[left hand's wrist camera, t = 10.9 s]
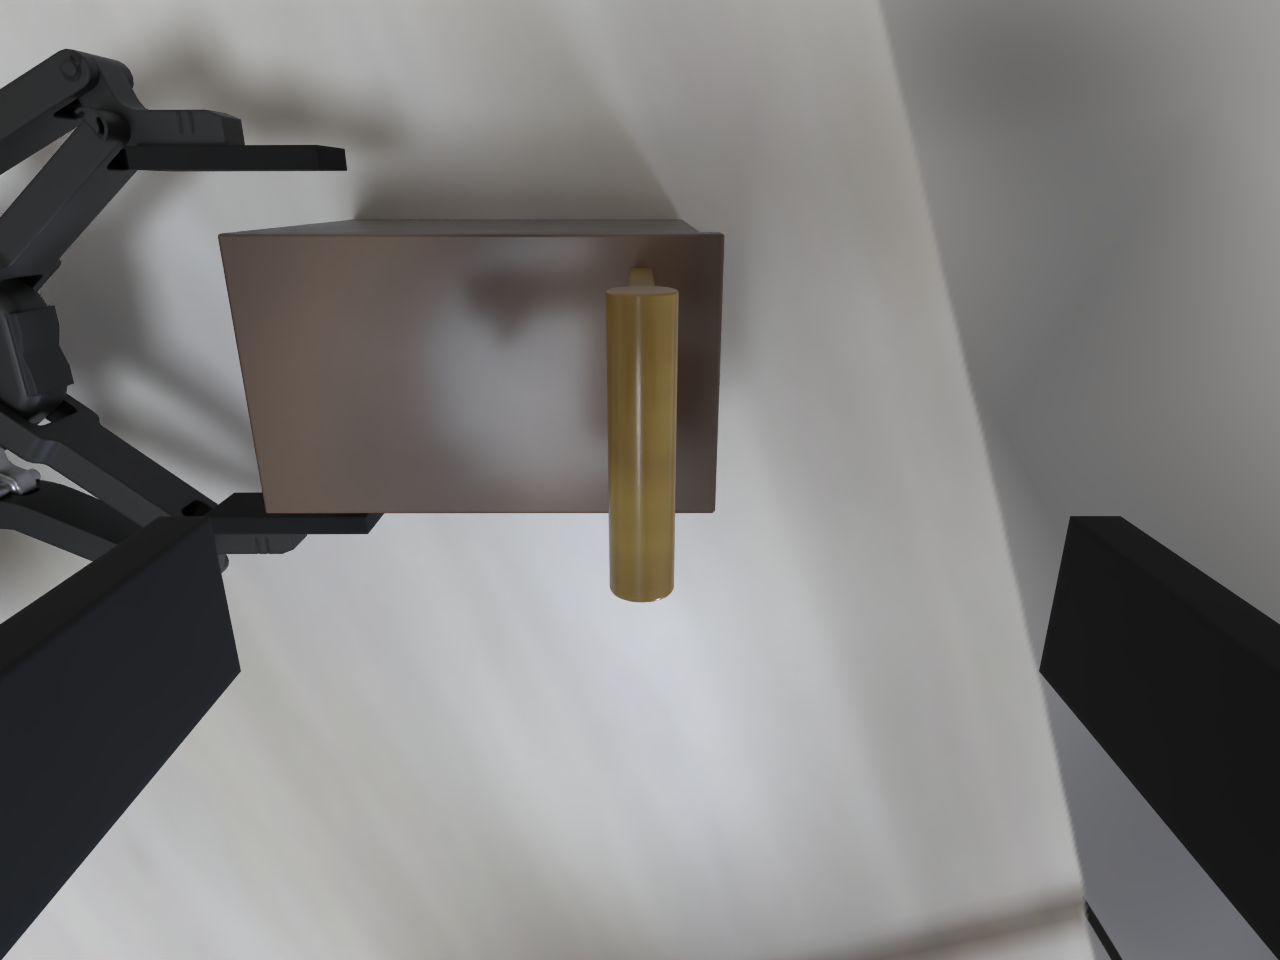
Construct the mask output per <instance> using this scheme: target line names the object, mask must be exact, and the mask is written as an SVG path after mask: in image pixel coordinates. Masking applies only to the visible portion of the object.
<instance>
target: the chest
mask: <svg viewBox="0 0 1280 960" xmlns="http://www.w3.org/2000/svg"><path fill="white" fill-rule="evenodd" d="M241 232H699V231H697V230H696V229H694V228H693V227H691V226H690V225H689V224H687V223H686V222H684V221H683V220H346V221H337V222H327V223H318V224H308V225H299V226H289V227H279V228H270V229H260V230H251V231H241Z"/></svg>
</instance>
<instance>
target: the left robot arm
mask: <svg viewBox="0 0 1280 960" xmlns="http://www.w3.org/2000/svg"><path fill="white" fill-rule="evenodd" d="M240 672H241V670H240V665H239V660H238V655H237V650H236V645H235V640H234V635H233V630H232V625H231V620H230V615H229V610H228V605H227V600H226V595H225V590H224V585H223V580H222V575H221V570H220V565H219V560H218V555H217V550H216V545H215V540H214V535H213V530H212V525H211V520H210V516H159V517H158V518H156V519H155V520H153V521H152V522H150V523H149V524H147V525H146V526H144V527H143V528H142V529H140V530H139V531H137V532H136V533H134V534H133V535H131V536H130V537H128V538H127V539H125V540H124V541H122V542H121V543H119V544H118V545H117V546H115V547H114V548H112V549H111V550H109V551H108V552H106V553H105V554H103V555H102V556H100V557H99V558H97V559H96V560H94V561H93V562H91V563H90V564H89V565H87V566H86V567H84V568H83V569H81V570H80V571H78V572H77V573H75V574H74V575H72V576H71V577H69V578H68V579H66V580H65V581H64V582H62V583H61V584H59V585H58V586H56V587H55V588H53V589H52V590H50V591H49V592H47V593H46V594H44V595H43V596H41V597H40V598H39V599H37V600H36V601H34V602H33V603H31V604H30V605H28V606H27V607H25V608H24V609H22V610H21V611H19V612H18V613H16V614H15V615H13V616H12V617H11V618H9V619H8V620H6V621H5V622H3V623H2V624H0V960H2V959H3V957H4V956H5V955H6V954H7V953H8V951H9V950H10V949H11V948H12V947H13V945H14V944H15V943H16V942H17V940H18V939H19V938H20V937H21V936H22V934H23V933H24V932H25V931H26V930H27V928H28V927H29V926H30V925H31V924H32V922H33V921H34V920H35V919H36V918H37V916H38V915H39V914H40V913H41V912H42V910H43V909H44V908H45V907H46V906H47V904H48V903H49V902H50V901H51V899H52V898H53V897H54V896H55V895H56V893H57V892H58V891H59V890H60V889H61V887H62V886H63V885H64V884H65V883H66V881H67V880H68V879H69V878H70V877H71V875H72V874H73V873H74V872H75V871H76V869H77V868H78V867H79V866H80V865H81V863H82V862H83V861H84V860H85V858H86V857H87V856H88V855H89V854H90V852H91V851H92V850H93V849H94V848H95V846H96V845H97V844H98V843H99V842H100V840H101V839H102V838H103V837H104V836H105V834H106V833H107V832H108V831H109V830H110V828H111V827H112V826H113V825H114V824H115V822H116V821H117V820H118V819H119V817H120V816H121V815H122V814H123V813H124V811H125V810H126V809H127V808H128V807H129V805H130V804H131V803H132V802H133V801H134V799H135V798H136V797H137V796H138V795H139V793H140V792H141V791H142V790H143V789H144V787H145V786H146V785H147V784H148V783H149V781H150V780H151V779H152V778H153V777H154V775H155V774H156V773H157V772H158V770H159V769H160V768H161V767H162V766H163V764H164V763H165V762H166V761H167V760H168V758H169V757H170V756H171V755H172V754H173V752H174V751H175V750H176V749H177V748H178V746H179V745H180V744H181V743H182V742H183V740H184V739H185V738H186V737H187V736H188V734H189V733H190V732H191V731H192V729H193V728H194V727H195V726H196V725H197V723H198V722H199V721H200V720H201V719H202V717H203V716H204V715H205V714H206V713H207V711H208V710H209V709H210V708H211V707H212V705H213V704H214V703H215V702H216V701H217V699H218V698H219V697H220V696H221V695H222V693H223V692H224V691H225V690H226V688H227V687H228V686H229V685H230V684H231V682H232V681H233V680H234V679H235V678H236V676H237V675H238V674H239V673H240ZM1039 672H1040V673H1041V674H1042V675H1043V676H1044V678H1045V679H1046V680H1047V681H1048V682H1049V684H1050V685H1051V686H1052V687H1053V688H1054V690H1055V691H1056V692H1057V693H1058V695H1059V696H1060V697H1061V698H1062V699H1063V701H1064V702H1065V703H1066V704H1067V705H1068V707H1069V708H1070V709H1071V710H1072V711H1073V713H1074V714H1075V715H1076V716H1077V717H1078V719H1079V720H1080V721H1081V722H1082V723H1083V725H1084V726H1085V727H1086V728H1087V729H1088V731H1089V732H1090V733H1091V734H1092V735H1093V737H1094V738H1095V739H1096V740H1097V742H1098V743H1099V744H1100V745H1101V746H1102V748H1103V749H1104V750H1105V751H1106V752H1107V754H1108V755H1109V756H1110V757H1111V758H1112V760H1113V761H1114V762H1115V763H1116V764H1117V766H1118V767H1119V768H1120V769H1121V770H1122V772H1123V773H1124V774H1125V775H1126V777H1127V778H1128V779H1129V780H1130V781H1131V782H1132V784H1133V785H1134V786H1135V787H1136V789H1137V790H1138V791H1139V792H1140V793H1141V795H1142V796H1143V797H1144V798H1145V799H1146V801H1147V802H1148V803H1149V804H1150V805H1151V807H1152V808H1153V809H1154V810H1155V811H1156V813H1157V814H1158V815H1159V816H1160V817H1161V819H1162V820H1163V821H1164V822H1165V824H1166V825H1167V826H1168V827H1169V828H1170V830H1171V831H1172V832H1173V833H1174V834H1175V836H1176V837H1177V838H1178V839H1179V840H1180V842H1181V843H1182V844H1183V845H1184V846H1185V848H1186V849H1187V850H1188V851H1189V852H1190V854H1191V855H1192V856H1193V857H1194V858H1195V860H1196V861H1197V862H1198V863H1199V865H1200V866H1201V867H1202V868H1203V869H1204V871H1205V872H1206V873H1207V874H1208V875H1209V877H1210V878H1211V879H1212V880H1213V881H1214V883H1215V884H1216V885H1217V886H1218V887H1219V889H1220V890H1221V891H1222V892H1223V893H1224V895H1225V896H1226V897H1227V898H1228V899H1229V901H1230V902H1231V903H1232V904H1233V905H1234V907H1235V908H1236V909H1237V910H1238V912H1239V913H1240V914H1241V915H1242V916H1243V918H1244V919H1245V920H1246V921H1247V922H1248V924H1249V925H1250V926H1251V927H1252V928H1253V930H1254V931H1255V932H1256V933H1257V934H1258V936H1259V937H1260V938H1261V939H1262V940H1263V942H1264V943H1265V944H1266V945H1267V947H1268V948H1269V949H1270V950H1271V951H1272V953H1273V954H1274V955H1275V956H1276V957H1277V959H1278V960H1280V624H1278V623H1277V622H1275V621H1274V620H1272V619H1271V618H1269V617H1268V616H1267V615H1265V614H1264V613H1262V612H1261V611H1259V610H1258V609H1256V608H1255V607H1253V606H1252V605H1250V604H1249V603H1247V602H1246V601H1244V600H1243V599H1241V598H1240V597H1239V596H1237V595H1236V594H1234V593H1233V592H1231V591H1230V590H1228V589H1227V588H1225V587H1224V586H1222V585H1221V584H1219V583H1218V582H1216V581H1215V580H1213V579H1212V578H1211V577H1209V576H1208V575H1206V574H1205V573H1203V572H1202V571H1200V570H1199V569H1197V568H1196V567H1194V566H1193V565H1191V564H1190V563H1188V562H1187V561H1186V560H1184V559H1183V558H1181V557H1180V556H1178V555H1177V554H1175V553H1174V552H1172V551H1171V550H1169V549H1168V548H1166V547H1165V546H1163V545H1162V544H1160V543H1159V542H1158V541H1156V540H1155V539H1153V538H1152V537H1150V536H1149V535H1147V534H1146V533H1144V532H1143V531H1141V530H1140V529H1138V528H1137V527H1135V526H1134V525H1133V524H1131V523H1130V522H1128V521H1127V520H1125V519H1124V518H1122V517H1121V516H1070V520H1069V525H1068V530H1067V535H1066V540H1065V545H1064V550H1063V555H1062V560H1061V565H1060V570H1059V575H1058V580H1057V585H1056V590H1055V595H1054V600H1053V605H1052V610H1051V615H1050V620H1049V625H1048V630H1047V635H1046V640H1045V645H1044V650H1043V655H1042V660H1041V665H1040V670H1039ZM1084 901H1085V902H1084V908H1085V917H1086V918H1087V920H1088V922H1089V923H1090V925H1091V926H1092V928H1093V930H1094V931H1095V933H1096V935H1097V937H1098V938H1099V940H1100V941H1101V943H1102V945H1103V947H1104V948H1105V950H1106V952H1107V953H1108V955H1109V957H1110V959H1111V960H1122V958H1121V956H1120V954H1119V953H1118V951H1117V949H1116V948H1115V946H1114V944H1113V943H1112V941H1111V940H1110V938H1109V936H1108V935H1107V933H1106V931H1105V930H1104V928H1103V927H1102V925H1101V923H1100V922H1099V920H1098V918H1097V917H1096V915H1095V914H1094V912H1093V910H1092V909H1091V907H1090V906H1089V904H1088V903H1087V901H1086V899H1085V898H1084Z"/></svg>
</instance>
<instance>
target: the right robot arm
mask: <svg viewBox="0 0 1280 960" xmlns="http://www.w3.org/2000/svg"><path fill="white" fill-rule="evenodd" d="M133 85H134V84H133V76H132V74H131V72H130V70H129V69H128V68H127V67H126V66H125V65H124V64H123V63H121V62H119V61H116V60H112V59H108V58H104V57H100V56H96V55H92V54H88V53H84V52H80V51H76V50H71V49H64V50H61V51H59V52H57V53H55V54H54V55H52V56H51V57H49V58H48V59H46V60H45V61H43V62H42V63H40V64H39V65H37V66H35V67H34V68H32V69H31V70H29V71H28V72H26V73H25V74H23V75H22V76H20V77H18V78H17V79H15V80H14V81H12V82H11V83H9V84H8V85H6V86H5V87H3V88H1V89H0V175H1V174H2V173H4V172H6V171H7V170H9V169H10V168H12V167H14V166H15V165H17V164H18V163H20V162H22V161H23V160H25V159H26V158H28V157H30V156H31V155H33V154H34V153H36V152H38V151H39V150H41V149H42V148H44V147H46V146H47V145H49V144H50V143H52V142H54V141H55V140H57V139H58V138H60V137H62V136H63V135H65V134H66V133H68V132H70V131H71V130H73V129H74V128H76V127H77V128H76V129H75V130H74V132H73V133H72V134H71V135H70V136H69V138H68V139H67V140H66V141H65V142H64V143H63V145H62V146H61V147H60V148H59V149H58V150H57V152H56V153H55V154H54V155H53V156H52V157H51V159H50V160H49V161H48V162H47V163H46V165H45V166H44V167H43V168H42V169H41V170H40V172H39V173H38V174H37V175H36V176H35V177H34V179H33V180H32V181H31V182H30V183H29V184H28V186H27V187H26V188H25V189H24V190H23V192H22V193H21V194H20V195H19V196H18V197H17V199H16V200H15V201H14V202H13V203H12V204H11V206H10V207H9V208H8V209H7V210H6V211H5V213H4V214H3V215H2V216H1V217H0V528H1V529H12V530H16V531H18V532H21V533H23V534H26V535H28V536H31V537H33V538H36V539H38V540H41V541H43V542H46V543H48V544H51V545H53V546H56V547H58V548H61V549H63V550H66V551H68V552H71V553H73V554H76V555H78V556H81V557H83V558H86V559H88V560H91V561H94V560H96V559H97V558H99V557H100V556H102V555H103V554H105V553H106V552H108V551H109V550H111V549H112V548H114V547H115V546H117V545H118V544H119V543H121V542H122V541H124V540H125V539H127V538H128V537H130V536H131V535H133V534H134V533H136V532H137V531H139V530H140V529H142V528H143V527H144V526H146V525H147V524H149V523H150V522H152V521H153V520H155V519H156V518H158V517H159V516H210V520H211V525H212V530H213V535H214V540H215V545H216V550H217V555H218V560H219V565H220V570H221V573H222V572H223V571H225V570H226V568H227V567H228V564H229V560H228V557H227V555H226V554H258V553H260V554H267V553H269V554H283V553H285V552H288V551H291V550H293V549H294V548H295V547H296V546H297V545H298V544H299V543H300V542H301V541H302V540H303V539H304V538H305V537H306V536H307V534H368V533H369V532H370V531H371V529H372V528H373V527H374V526H375V524H376V523H377V522H378V520H379V519H380V518H381V517H382V515H383V514H384V513H267V512H266V509H265V503H264V498H263V493H234V494H232V495H231V496H230V497H228V498H227V499H226V500H224V501H223V502H221V503H220V504H219V505H218V504H216V503H215V502H213V501H212V500H210V499H209V498H207V497H206V496H205V495H203V494H202V493H200V492H199V491H197V490H196V489H194V488H193V487H191V486H190V485H188V484H187V483H185V482H184V481H182V480H181V479H179V478H178V477H176V476H175V475H174V474H172V473H171V472H169V471H168V470H166V469H165V468H163V467H162V466H160V465H159V464H157V463H156V462H154V461H153V460H151V459H150V458H148V457H147V456H145V455H144V454H143V453H141V452H140V451H138V450H137V449H135V448H134V447H132V446H131V445H129V444H128V443H126V442H125V441H123V440H122V439H120V438H119V437H117V436H116V435H114V434H113V433H112V432H110V431H109V430H107V429H106V428H104V427H103V426H102V425H100V423H99V417H98V415H97V414H96V413H94V412H93V411H92V410H90V409H89V408H87V407H86V406H84V405H83V404H81V403H80V402H78V401H77V400H75V399H74V398H72V397H71V396H70V395H68V394H67V393H66V392H67V386H68V385H71V384H74V382H73V378H72V374H71V370H70V366H69V363H68V361H67V360H66V358H65V356H64V354H63V352H62V350H61V348H60V346H59V322H58V318H57V314H56V310H55V306H47V305H46V303H45V301H44V300H43V298H42V297H41V296H40V295H39V294H38V293H37V291H38V290H39V289H40V288H41V287H42V285H43V284H44V283H45V282H46V281H47V280H48V279H49V278H50V277H51V275H52V274H53V273H54V272H55V271H56V270H57V269H58V268H59V266H60V265H61V261H60V260H59V259H60V257H61V255H62V254H63V253H64V252H65V251H66V250H67V249H68V248H69V246H70V245H71V244H72V243H73V242H74V241H75V240H76V239H77V237H78V236H79V235H80V234H81V233H82V232H83V231H84V230H85V228H86V227H87V226H88V225H89V224H90V223H91V222H92V221H93V219H94V218H95V217H96V216H97V215H98V214H99V213H100V212H101V211H102V209H103V208H104V207H105V206H106V205H107V204H108V203H109V202H110V200H111V199H112V198H113V197H114V196H115V195H116V194H117V193H118V191H119V190H120V189H121V188H122V187H123V186H124V185H125V184H126V182H127V181H128V180H129V179H130V178H131V177H132V176H133V175H134V173H135V172H136V171H137V170H152V171H347V166H346V157H345V149H341V148H334V147H327V146H320V145H245V142H244V136H243V130H242V124H241V119H238V118H236V117H233V116H231V115H228V114H226V113H220V112H215V111H210V110H148V109H146V108H145V107H144V106H143V105H142V104H141V103H140V102H139V100H138V99H137V97H136V95H135V93H134V91H133V89H132V88H133ZM44 418H46V419H47V420H49V421H50V422H51V423H49V424H46V425H42V426H39V425H38V424H39V423H40V422H41V421H42V420H43V419H44ZM6 449H8V450H9V451H11V452H12V453H14V454H15V455H17V456H18V457H20V458H21V459H23V460H25V461H28V462H31V463H40V464H45V465H47V466H49V467H51V468H52V469H54V470H55V471H57V472H59V473H60V474H62V475H63V476H65V477H66V478H68V479H69V480H71V481H72V482H74V483H75V484H77V485H78V486H80V487H81V488H83V489H85V490H86V491H88V492H89V493H91V494H92V495H94V496H95V497H97V498H98V499H97V498H94V497H92V496H90V495H87V494H85V493H82V492H80V491H78V490H75V489H73V488H70V487H67V486H64V485H61V484H57V483H54V482H49V481H43V480H40V478H41V476H40V473H39V472H38V471H37V470H35V469H29V470H25V469H23V468H20V467H17V466H15V465H13V464H12V463H11V462H10V461H9V460H8V458H7V457H6V454H5V450H6ZM99 499H100V500H99Z"/></svg>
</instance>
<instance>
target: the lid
mask: <svg viewBox="0 0 1280 960" xmlns="http://www.w3.org/2000/svg"><path fill="white" fill-rule="evenodd" d="M218 239H219V245H220V251H221V256H222V262H223V268H224V274H225V279H226V285H227V291H228V297H229V302H230V308H231V314H232V320H233V325H234V331H235V337H236V343H237V348H238V354H239V360H240V366H241V371H242V377H243V383H244V389H245V394H246V400H247V406H248V412H249V417H250V423H251V429H252V435H253V440H254V446H255V452H256V457H257V463H258V469H259V475H260V480H261V486H262V492H263V498H264V503H265V509H266V512H267V513H609V558H610V589H611V591H612V592H613V594H614V595H616V596H617V597H619V598H621V599H624V600H627V601H632V602H652V601H657V600H660V599H663V598H665V597H667V596H668V595H669V594H670V593H671V592H672V590H673V588H674V543H675V513H714V511H715V493H716V465H717V436H718V407H719V379H720V350H721V321H722V293H723V264H724V235H723V234H721V233H719V232H232V233H223V234H219V235H218Z"/></svg>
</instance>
